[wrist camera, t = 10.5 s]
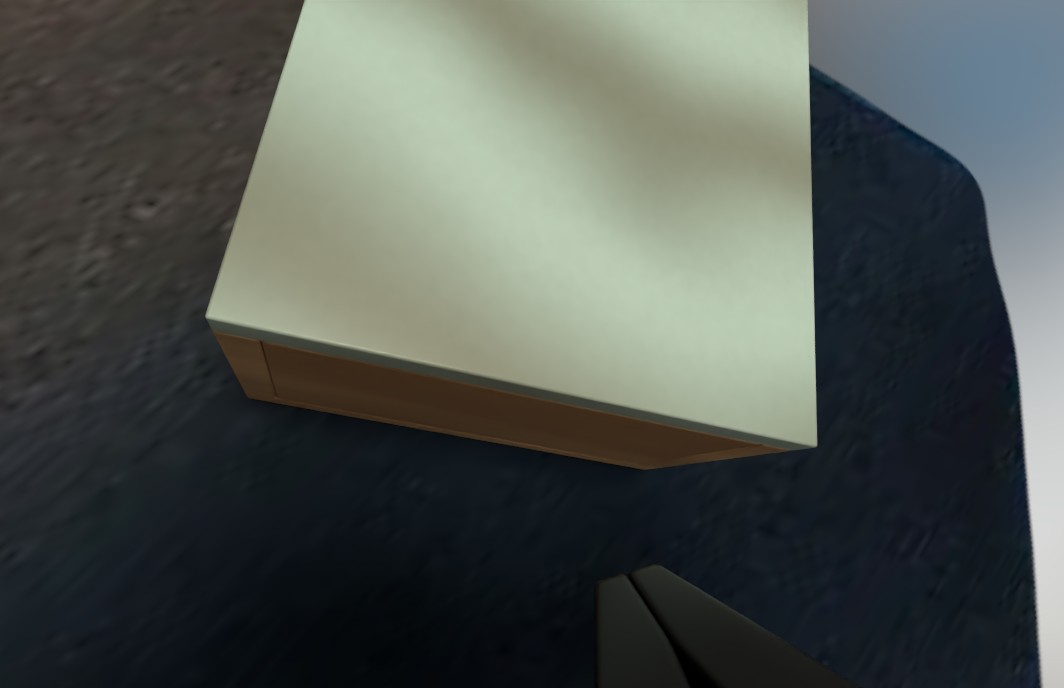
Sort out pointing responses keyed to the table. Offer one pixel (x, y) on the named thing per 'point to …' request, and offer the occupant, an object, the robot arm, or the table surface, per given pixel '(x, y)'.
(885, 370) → the table surface
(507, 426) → the keepsake box
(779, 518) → the table surface
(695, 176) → the box lid
